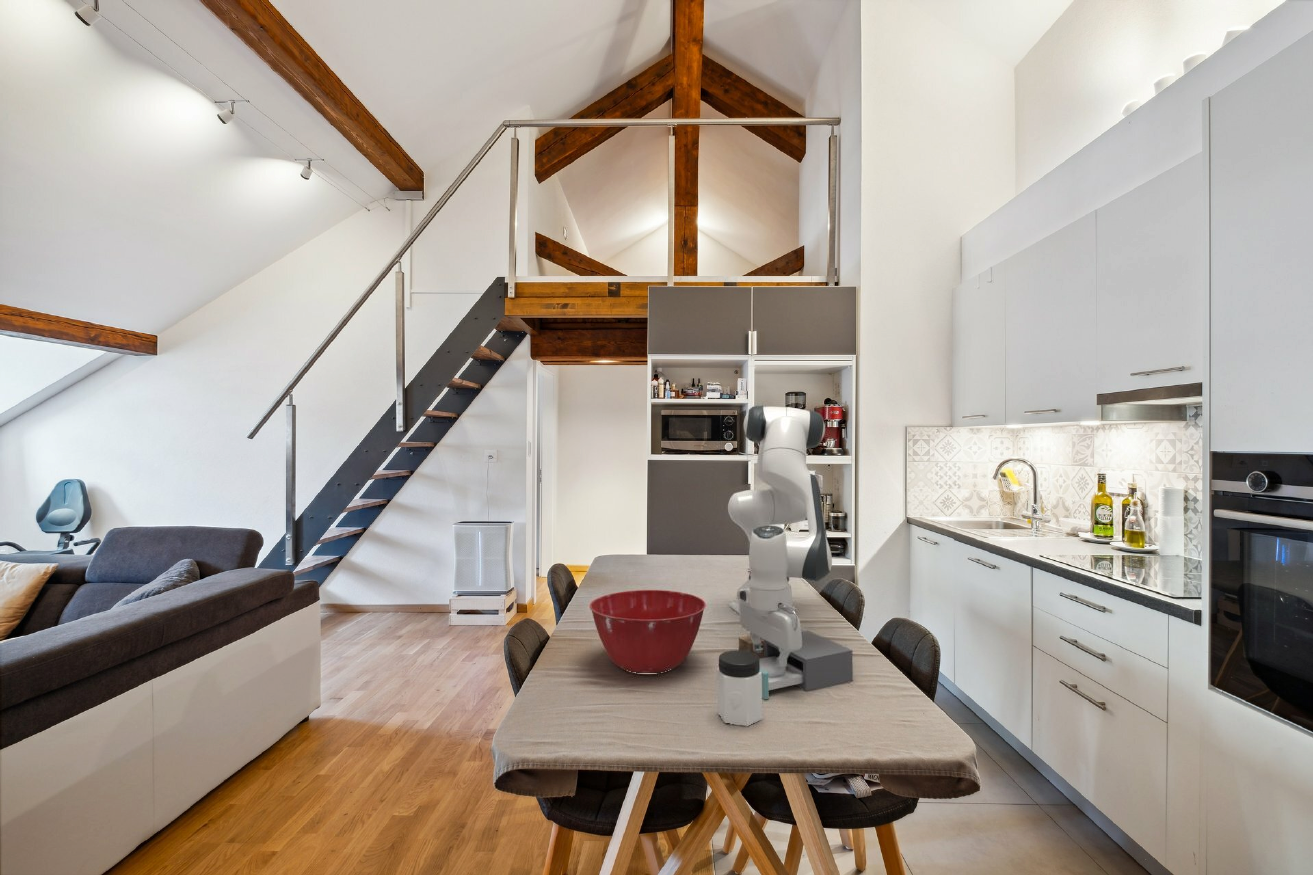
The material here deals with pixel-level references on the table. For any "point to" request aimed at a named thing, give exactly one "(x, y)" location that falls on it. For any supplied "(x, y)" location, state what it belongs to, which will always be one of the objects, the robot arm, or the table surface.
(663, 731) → the table surface
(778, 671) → the disc
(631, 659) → the mixing bowl
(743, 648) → the walnut block
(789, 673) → the tray
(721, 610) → the table surface
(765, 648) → the grey drawer box
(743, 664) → the jar
